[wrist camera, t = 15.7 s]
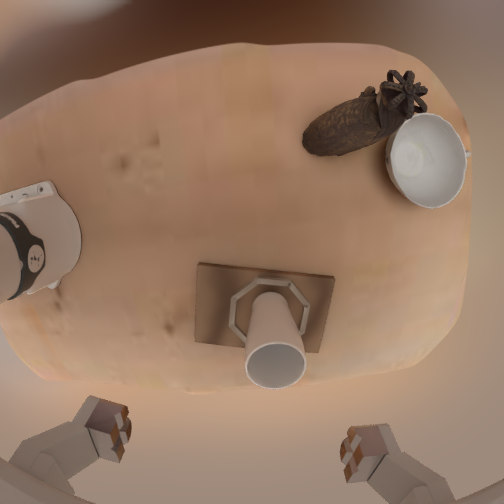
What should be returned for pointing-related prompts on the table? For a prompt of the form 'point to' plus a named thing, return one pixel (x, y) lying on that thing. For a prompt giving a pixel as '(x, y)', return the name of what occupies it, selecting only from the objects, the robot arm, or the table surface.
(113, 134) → the table surface
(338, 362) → the table surface
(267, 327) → the drinking glass
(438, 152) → the teacup
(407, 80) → the statue
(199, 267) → the walnut board
